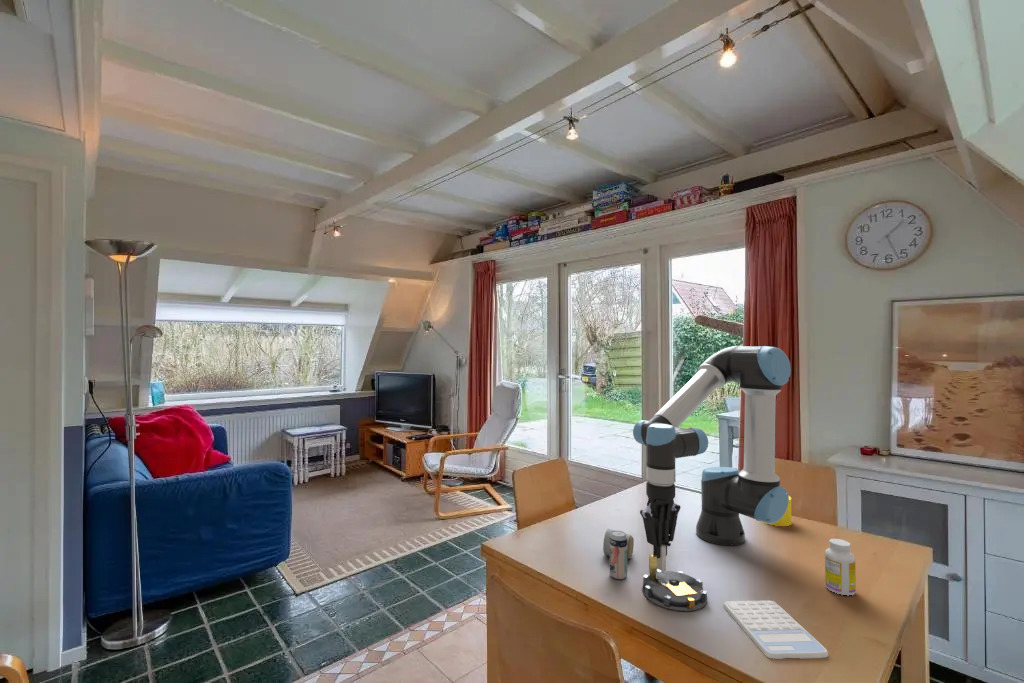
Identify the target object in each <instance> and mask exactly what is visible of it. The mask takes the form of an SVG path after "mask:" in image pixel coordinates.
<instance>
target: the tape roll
mask: <svg viewBox="0 0 1024 683" xmlns="http://www.w3.org/2000/svg"><path fill="white" fill-rule="evenodd" d="M788 496H789V502H788V507H787V510H786V512H785V514H784V515H783V517H782V518H781V519H780V520H779V521H777V522H775V523H766V522H764V524H765V523H766V524H765V525H768V524H770V525H769V526H772V525H775V526H774V527H777V526H789V525H791V526H792V497H791V496H790V495H788ZM789 527H790V526H789Z"/></svg>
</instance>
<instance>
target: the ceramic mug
mask: <svg viewBox="0 0 1024 683" xmlns="http://www.w3.org/2000/svg"><path fill="white" fill-rule="evenodd" d="M612 531H616V530H614V529H611V528H607V529H606V531H605V532H604V537H603V545H602V546H603V547H602V552H603V554H604V556H608V557H610V535H611V533H612ZM624 533H625V534H626V536H627V560H630V559H631V558H632V556H633V553H634V546H635V544H634V542H635V540H634V539H635V538H634V536H633V535H632V534H629V533H626V532H624Z"/></svg>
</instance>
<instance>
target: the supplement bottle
mask: <svg viewBox="0 0 1024 683" xmlns="http://www.w3.org/2000/svg"><path fill="white" fill-rule="evenodd" d="M828 544H829V547H828V548H827V549H825V551H824V581H825V583H824V584H825V587H826V589H827V588H828V589H827V590H828V591H830V592H831V591H832V593H833V592H835V593H834V594H836V593H837V594H836V595H839V594H841V595H840V596H843V595H847V596H846V597H850V596H849V595H852V596H854V595H855V594H856V589H857V588H856V586H857V585H856V584H857V582H856V580H857V579H856V557H855V555H854V554H853V553H852V552H851V549H852V546H851V543H850V542H848V541H847V540H845V539H839V538H830V539H829V540H828Z"/></svg>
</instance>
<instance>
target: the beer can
mask: <svg viewBox="0 0 1024 683" xmlns="http://www.w3.org/2000/svg"><path fill="white" fill-rule="evenodd" d="M625 533H626V532H624V531H621V530H615V531H612V533H611V535H610V556H609V575H610V577H611V578H613V579H616V580H624V579H625V578H627V576H628V559H627V536H626V534H627V533H626V534H625Z"/></svg>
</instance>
